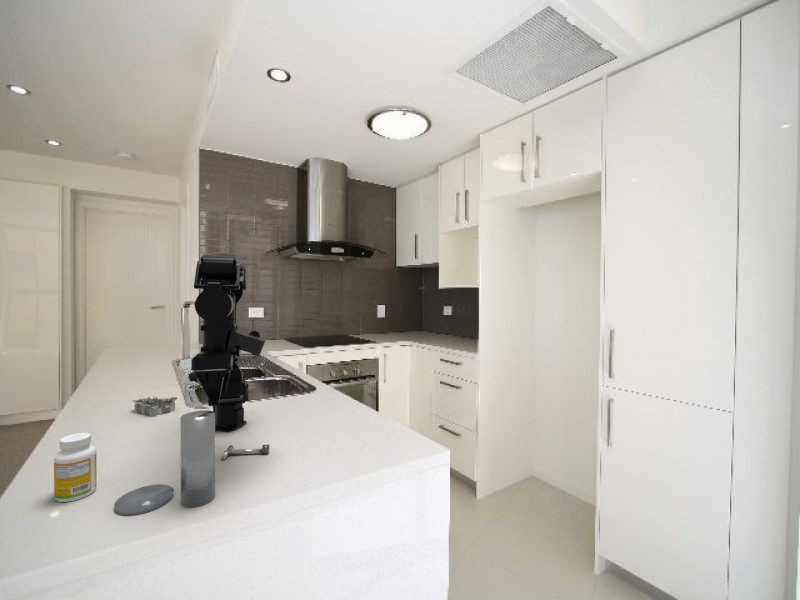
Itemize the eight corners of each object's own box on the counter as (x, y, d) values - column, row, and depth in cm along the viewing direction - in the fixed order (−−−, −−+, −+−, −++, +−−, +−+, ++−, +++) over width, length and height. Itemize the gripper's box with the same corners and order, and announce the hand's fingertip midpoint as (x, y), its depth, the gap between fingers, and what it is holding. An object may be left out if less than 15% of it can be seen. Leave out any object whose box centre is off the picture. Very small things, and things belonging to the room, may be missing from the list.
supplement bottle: (71, 486, 65) (71, 431, 65) (104, 485, 65) (104, 430, 65) (45, 503, 59) (44, 444, 59) (80, 502, 60) (80, 443, 60)
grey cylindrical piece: (173, 505, 59) (172, 419, 59) (196, 489, 64) (196, 409, 64) (200, 509, 58) (199, 421, 58) (221, 492, 63) (221, 411, 63)
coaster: (100, 511, 57) (100, 507, 57) (146, 485, 65) (146, 481, 65) (143, 518, 56) (143, 515, 56) (184, 491, 64) (184, 487, 64)
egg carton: (179, 411, 106) (179, 397, 106) (150, 419, 99) (150, 404, 99) (158, 405, 111) (158, 391, 111) (130, 412, 104) (130, 397, 104)
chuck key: (220, 460, 75) (220, 451, 75) (228, 450, 80) (228, 441, 80) (265, 458, 76) (266, 449, 76) (271, 448, 81) (271, 440, 81)
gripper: (260, 321, 66) (260, 408, 66) (264, 317, 84) (264, 385, 84) (190, 322, 63) (190, 414, 63) (210, 317, 80) (210, 389, 80)
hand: (219, 398), depth 72 cm, fingers open, 9 cm apart
